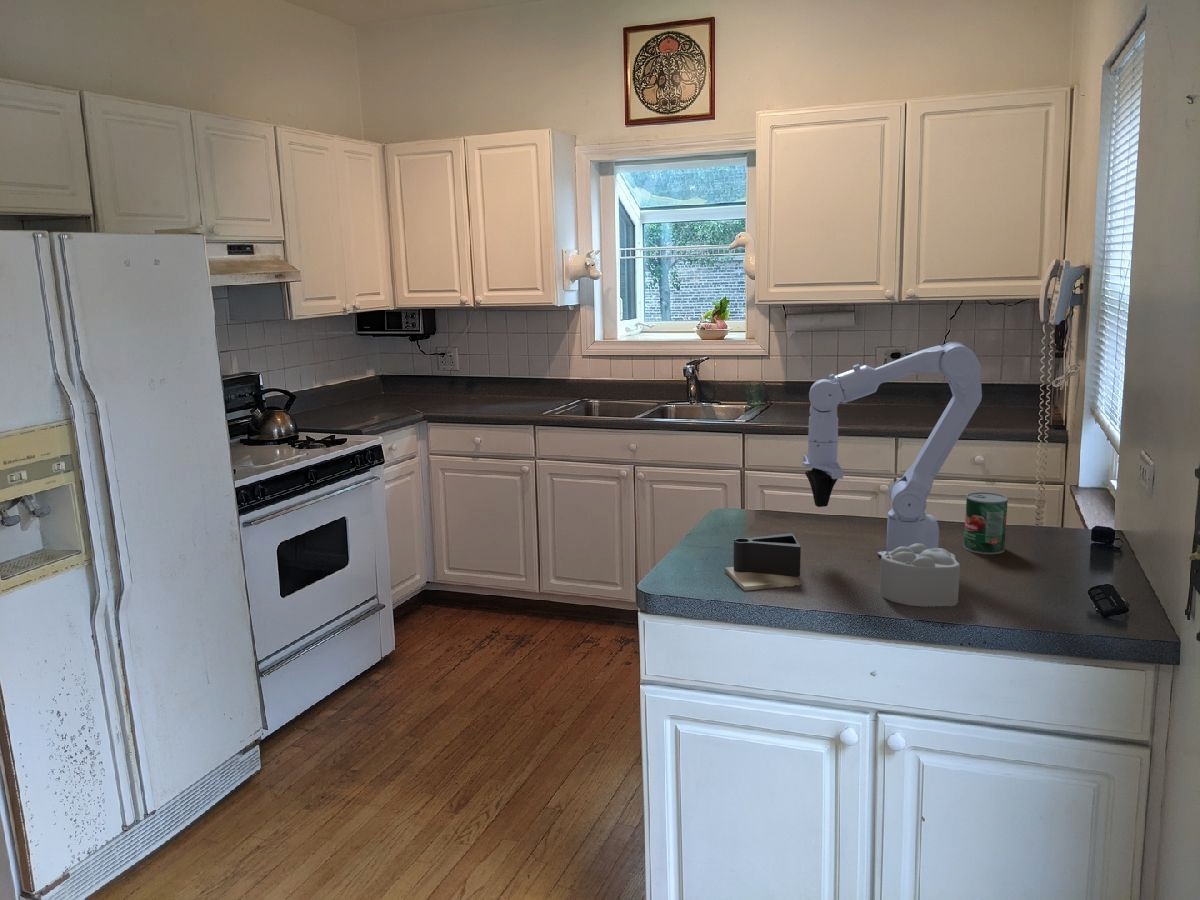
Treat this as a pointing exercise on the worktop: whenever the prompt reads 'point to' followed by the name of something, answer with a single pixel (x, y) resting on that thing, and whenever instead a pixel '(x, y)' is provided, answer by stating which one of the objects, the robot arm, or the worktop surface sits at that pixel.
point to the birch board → (760, 580)
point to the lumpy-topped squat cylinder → (920, 576)
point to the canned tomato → (985, 523)
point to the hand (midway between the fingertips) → (821, 505)
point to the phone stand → (768, 555)
